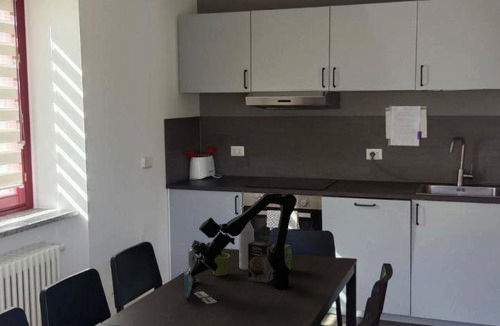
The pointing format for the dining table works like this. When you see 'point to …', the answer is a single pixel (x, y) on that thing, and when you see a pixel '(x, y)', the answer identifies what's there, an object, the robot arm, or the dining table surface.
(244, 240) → the water bottle
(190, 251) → the post
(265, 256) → the coffee box
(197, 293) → the psu label
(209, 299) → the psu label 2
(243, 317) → the dining table surface
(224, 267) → the plant pot
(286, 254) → the chalk box
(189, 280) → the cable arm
